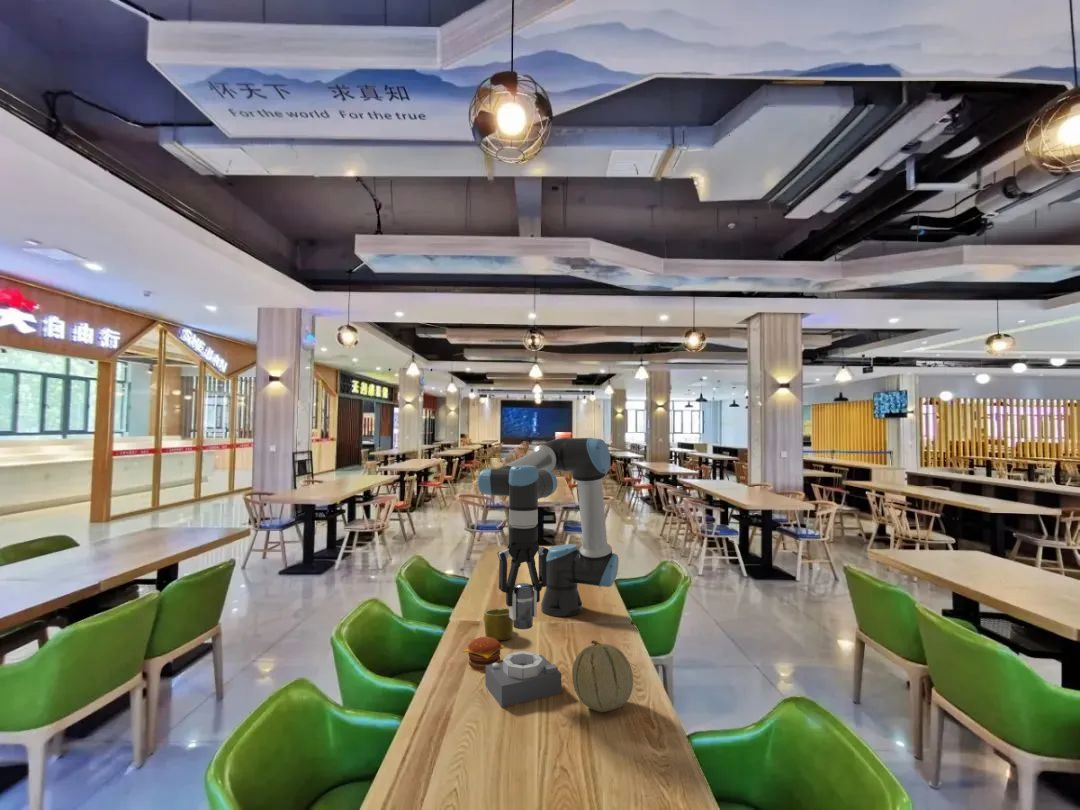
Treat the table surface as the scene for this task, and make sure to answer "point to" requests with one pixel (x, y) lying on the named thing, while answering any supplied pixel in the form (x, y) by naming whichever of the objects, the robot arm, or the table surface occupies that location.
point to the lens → (523, 606)
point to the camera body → (522, 678)
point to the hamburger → (484, 652)
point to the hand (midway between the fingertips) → (523, 616)
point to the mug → (498, 624)
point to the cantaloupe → (602, 677)
